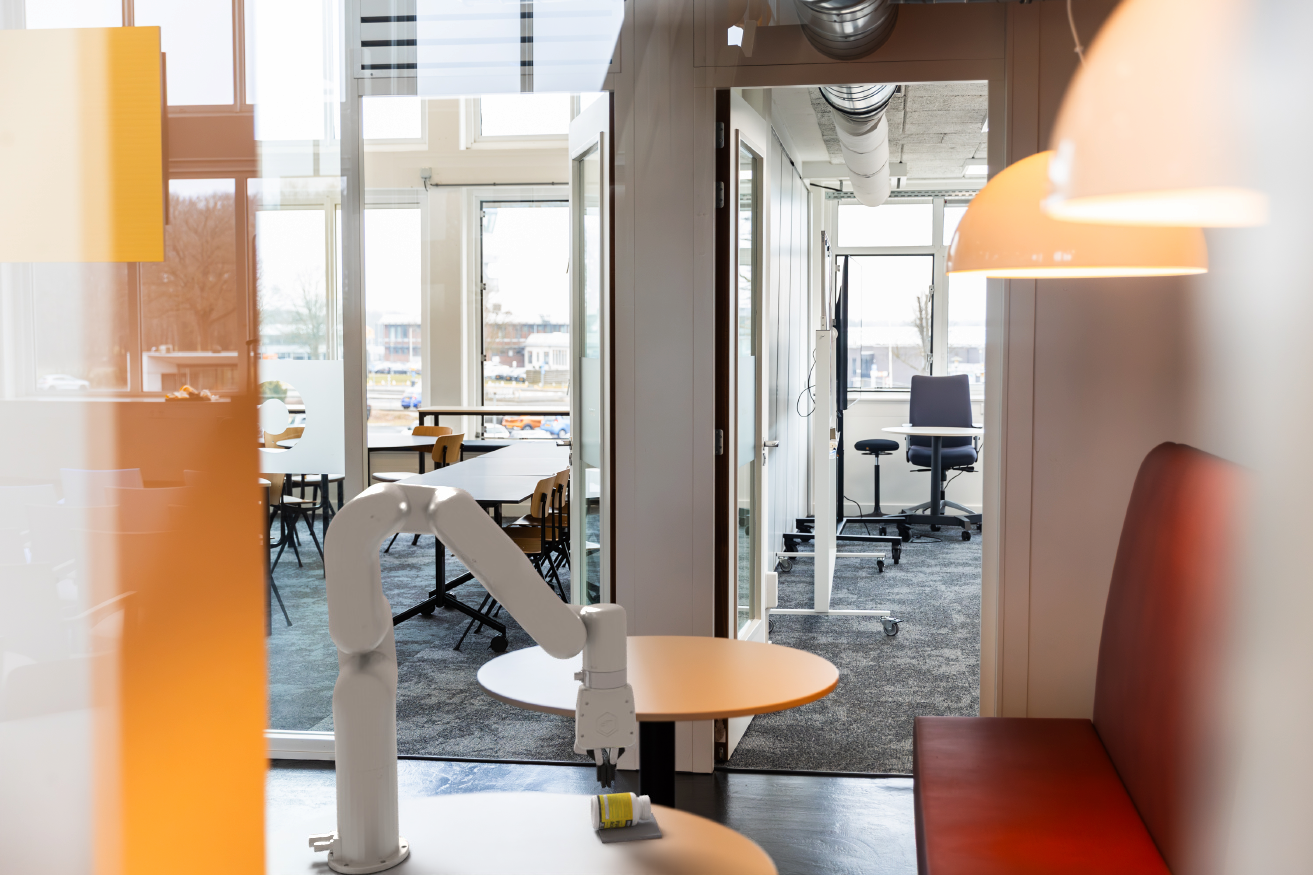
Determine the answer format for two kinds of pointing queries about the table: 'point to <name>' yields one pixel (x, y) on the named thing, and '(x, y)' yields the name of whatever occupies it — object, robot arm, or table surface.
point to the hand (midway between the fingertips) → (605, 784)
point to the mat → (632, 831)
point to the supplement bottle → (619, 810)
